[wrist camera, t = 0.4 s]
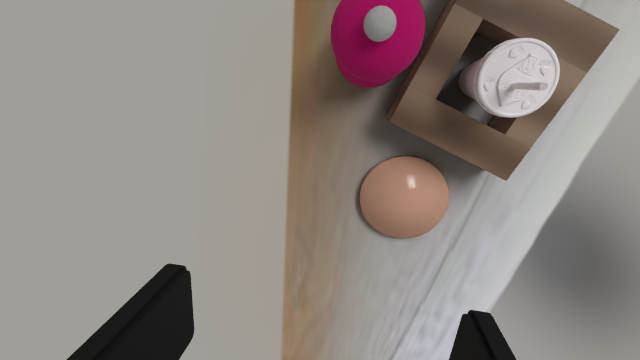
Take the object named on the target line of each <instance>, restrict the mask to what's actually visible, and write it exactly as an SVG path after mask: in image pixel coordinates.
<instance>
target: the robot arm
mask: <svg viewBox="0 0 640 360" xmlns="http://www.w3.org/2000/svg"><path fill="white" fill-rule="evenodd" d="M193 334H194V320H193V305H192V290H191V275H190V272H189V271H187V270H186V267H185V266H182V265H175V264H167V265H165V266H164V267H163V268H162V269H161V270H160V271H159V272H158V273H157V274H156V275H155V276H154V277H153V278H152V279H151V280H150V281H149V282H148V283H146V284H145V285H144V286H143V287H142V288H141V289H140V290H139V291H138V292H137V293H136V294H135V295H134V296H133V297H132V298H131V299H130V300H129V301H128V302H127V303H125V304H124V305H123V307H121V308H120V309H119V310H118V311H117V312H116V313H115V314H114V315H113V316H112V317H111V318H110V319H109V320H108V321H107V322H106V323H105V324H103V325H102V326H101V327H100V328H99V329H98V330H97V331H96V332H95V333H94V334H93V335H92V336H91V337H90V338H89V339H88V340H87V341H86V342H85V343H84V344H83V345H82V346H81V347H79V349H77V350H76V351H75V352H74V353H73V354H72V355H71V356H70V357H69V358H68V359H67V360H179V359H180V357H181V355H182V354H183V352H184V351H185V349H186V348H187V346H188V345H189V343H190V341H191V340H192V337H193ZM449 360H516V358H515V356H514V355H513V353H512V351H511V349H510V348H509V346H508V344H507V342H506V340H505V338H504V337H503V335H502V333H501V332H500V329H499V328H498V326H497V324H496V322H495V320H494V318H493V317H492V315H491V314H490V313H487V312H480V311H474V310H470V311H469V312H468V314H463V315H462V318H461V321H460V325H459V328H458V331H457V335H456V338H455V341H454V345H453V348H452V352H451V355H450V358H449Z"/></svg>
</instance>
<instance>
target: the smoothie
mask: <svg viewBox="0 0 640 360" xmlns="http://www.w3.org/2000/svg"><path fill="white" fill-rule="evenodd" d="M559 75H560V65H559V61H558V58H557V55H556V54H555V52H554V50H553V49H552V48H551V47H550V46H549V45H547V44H546V43H544V42H543V41H540V40H538V39H533V38H516V39H512V40H508V41H505V42H503V43H501V44H499V45H497V46H495V47H494V48H493V49H492V50H490V51H489V52H488V53H487V54H486V55H485V56H484V57H483V58H481V59H479V60H477V61H475V62H474V63H472V64H470V65H468V66H467V67H466V68H465V69H464V70H463V71H462V72H461V74H460V77H459V87H460V89H461V91H462V92H463V93H464V94H465V95H467V96H469V97H470V98H472V99H474V100H475V101H477V102H478V103H479V104H480V105H481V107H482V108H483V109H484V110H486V111H487V112H489V113H490V114H493V115H496V116H499V117H508V118H514V117H521V116H524V115H527V114H530V113H532V112H534V111H535V110H537V109H538V108H540V107H541V106H542V105H543V104H545V103H546V102H547V100H548V99H549V98H550V97H551V95H552V94H553V92H554V91H555V89H556V86H557V84H558V81H559Z"/></svg>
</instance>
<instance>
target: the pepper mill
mask: <svg viewBox="0 0 640 360" xmlns="http://www.w3.org/2000/svg"><path fill="white" fill-rule="evenodd" d="M424 34H425V17H424V12H423V9H422V6H421V3H420V1H419V0H341V2H340V3H339V5H338V7H337V9H336V11H335V14H334V17H333V21H332V26H331V43H332V47H333V50H334V54H335V57H336V62H337V65H338V67H339V69H340V71H341V73H342V74H343V75H344V77H345V78H346V79H348V80H349V81H350V82H352V83H353V84H355V85H358V86H361V87H369V88H370V87H377V86H381V85H383V84H385V83H387V82H389V81H390V80H391V79H393V78H394V77H395V76H396V75H398V74H400V73H401V72H402V71H404V70H405V69H406V68H407V67H408V66H409V65H410V64H411V63H412V62H413V60H414V59H415V58H416V56H417V55H418V52H419V50H420V48H421V46H422V42H423V39H424Z"/></svg>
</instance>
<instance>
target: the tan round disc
mask: <svg viewBox="0 0 640 360" xmlns="http://www.w3.org/2000/svg"><path fill="white" fill-rule="evenodd" d="M448 204H449V190H448V186H447V183H446V181H445V179H444V177H443V175H442V174H441V173H440V172H439V170H438V169H437V168H436V167H435V166H433V165H432V164H431V163H429V162H428V161H426V160H424V159H421V158H418V157H415V156H395V157H391V158H388V159H386V160H384V161H382V162H380V163H379V164H377V165H376V166H375V167H373V168H372V169H371V170H370V172H369V173H368V174H367V176H366V177H365V179H364V181H363V183H362V186H361V191H360V205H361V210H362V212H363V215H364V217H365V218H366V220H367V221H368V223H369V224H370V225H371V226H372V227H373V228H374V229H376V230H377V231H379V232H380V233H382V234H384V235H387V236H390V237H395V238H412V237H416V236H419V235H422V234H424V233H426V232H428V231H430V230H431V229H432V228H434V227H435V226H436V225H437V224H438V223H439V222H440V221H441V219H442V218H443V216H444V215H445V213H446V210H447V207H448Z"/></svg>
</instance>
